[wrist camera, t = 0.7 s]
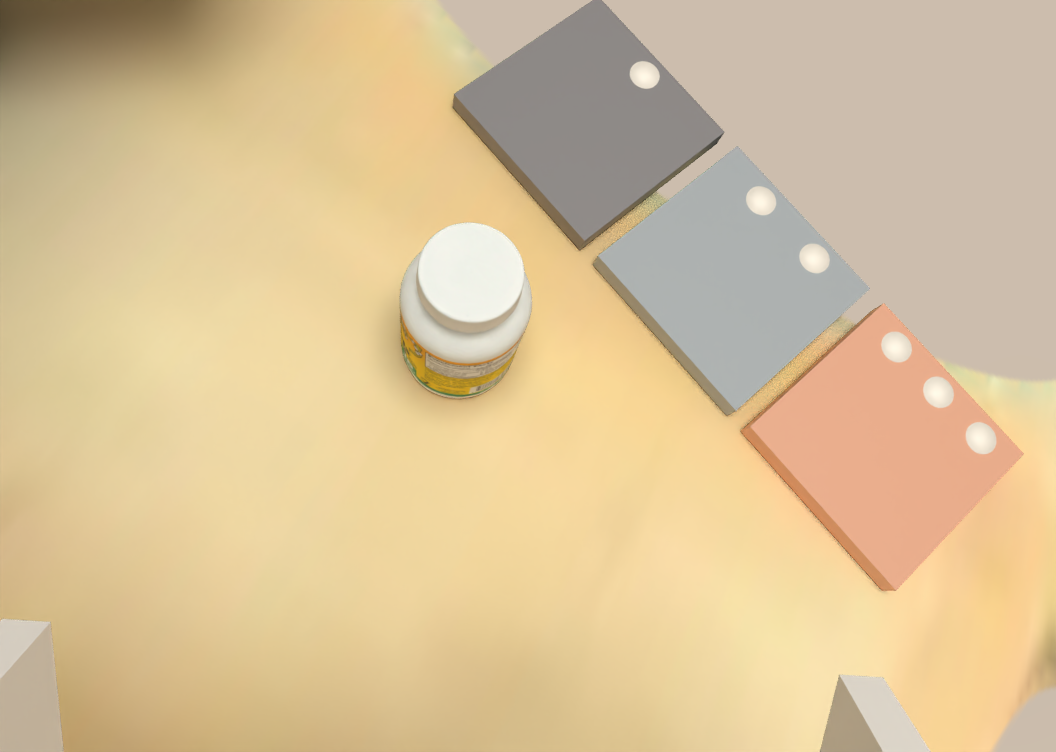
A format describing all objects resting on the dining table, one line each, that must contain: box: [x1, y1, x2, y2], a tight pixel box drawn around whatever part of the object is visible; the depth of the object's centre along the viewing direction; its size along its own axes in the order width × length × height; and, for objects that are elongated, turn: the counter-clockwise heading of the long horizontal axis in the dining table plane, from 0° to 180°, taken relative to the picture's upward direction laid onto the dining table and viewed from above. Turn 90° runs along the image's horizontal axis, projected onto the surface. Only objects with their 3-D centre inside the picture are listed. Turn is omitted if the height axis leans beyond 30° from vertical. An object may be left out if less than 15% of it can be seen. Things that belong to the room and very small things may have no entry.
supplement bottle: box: [400, 223, 532, 398], centre depth 35 cm, size 5×5×10 cm
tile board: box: [453, 0, 1024, 591], centre depth 42 cm, size 32×10×1 cm, turn 41°
